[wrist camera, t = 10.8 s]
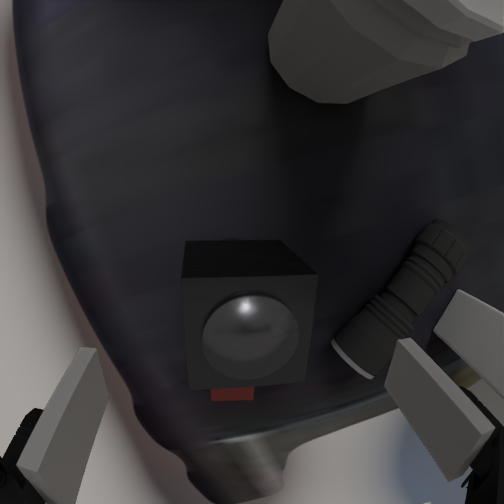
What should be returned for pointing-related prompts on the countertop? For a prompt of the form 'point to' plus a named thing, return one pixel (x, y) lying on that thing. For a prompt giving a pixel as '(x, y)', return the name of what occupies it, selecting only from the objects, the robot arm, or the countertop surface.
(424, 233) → the flashlight
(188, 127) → the countertop surface
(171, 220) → the countertop surface
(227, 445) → the countertop surface
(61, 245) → the countertop surface
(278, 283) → the speaker cube
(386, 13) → the jar
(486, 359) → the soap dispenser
